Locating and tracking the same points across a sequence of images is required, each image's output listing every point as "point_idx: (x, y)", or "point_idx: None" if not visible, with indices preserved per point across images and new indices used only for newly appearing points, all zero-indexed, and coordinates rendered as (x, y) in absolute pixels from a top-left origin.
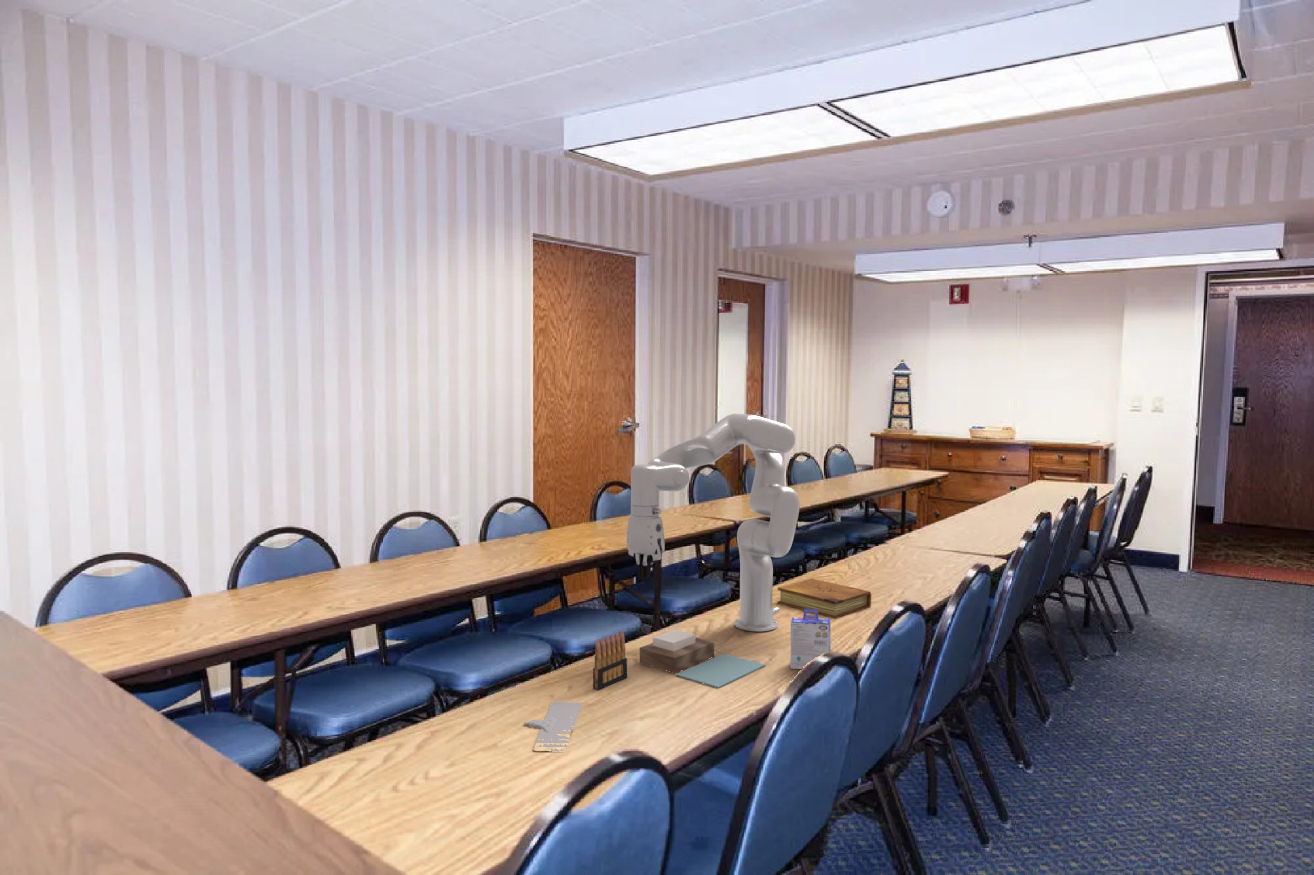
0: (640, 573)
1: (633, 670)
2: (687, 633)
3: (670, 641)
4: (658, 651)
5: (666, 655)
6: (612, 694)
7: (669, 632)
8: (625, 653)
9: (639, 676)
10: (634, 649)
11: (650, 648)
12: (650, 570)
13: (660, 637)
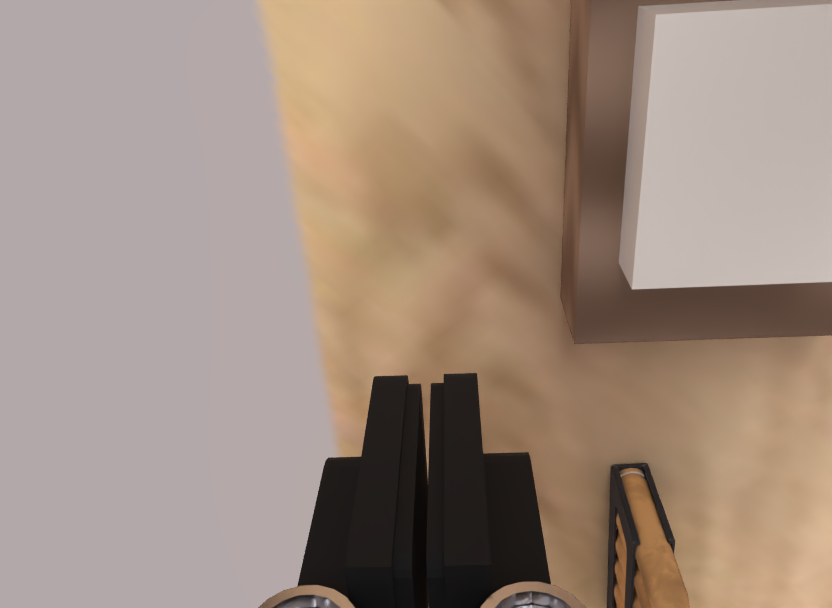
0: (427, 600)
1: (607, 387)
2: (823, 29)
3: (800, 272)
4: (720, 316)
5: (807, 335)
6: (714, 599)
7: (669, 118)
8: (677, 565)
9: (686, 420)
10: (364, 152)
11: (641, 310)
12: (539, 521)
13: (682, 257)
